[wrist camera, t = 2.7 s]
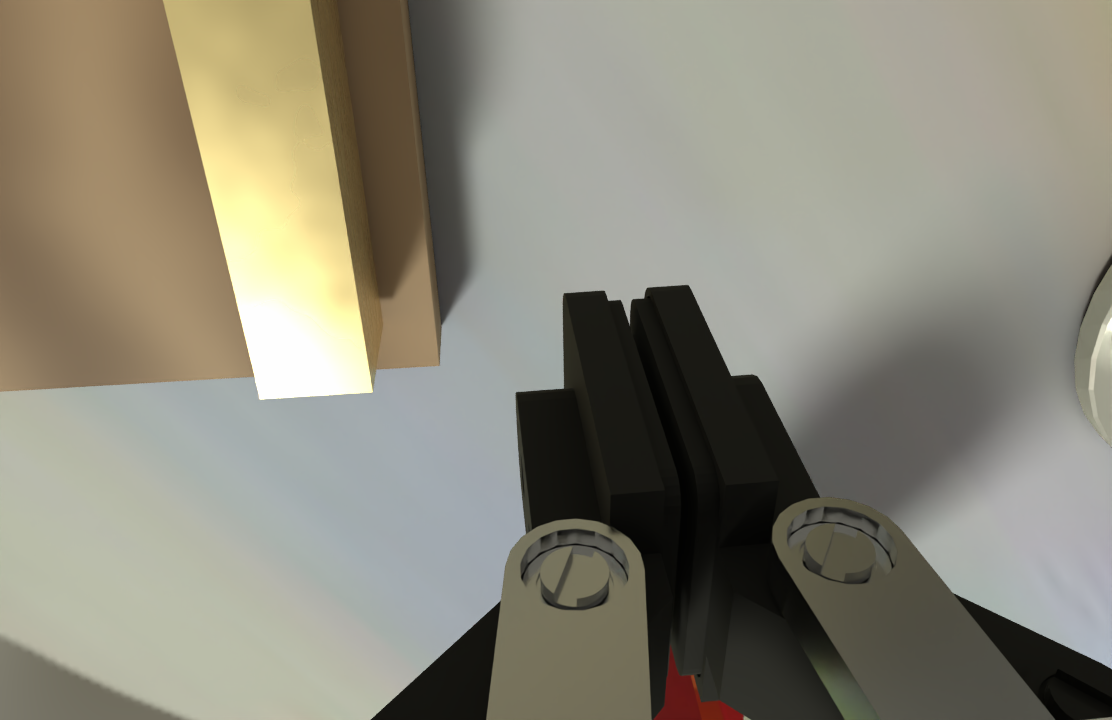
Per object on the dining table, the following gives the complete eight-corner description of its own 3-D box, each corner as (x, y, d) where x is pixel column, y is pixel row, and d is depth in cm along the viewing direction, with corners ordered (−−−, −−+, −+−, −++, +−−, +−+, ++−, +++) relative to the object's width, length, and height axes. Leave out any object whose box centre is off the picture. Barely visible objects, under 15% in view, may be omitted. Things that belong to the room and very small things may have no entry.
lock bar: (67, -561, 14) (-59, -662, 11) (277, -562, 14) (218, -662, 11) (269, 330, 23) (234, 426, 20) (397, 322, 23) (385, 417, 20)
